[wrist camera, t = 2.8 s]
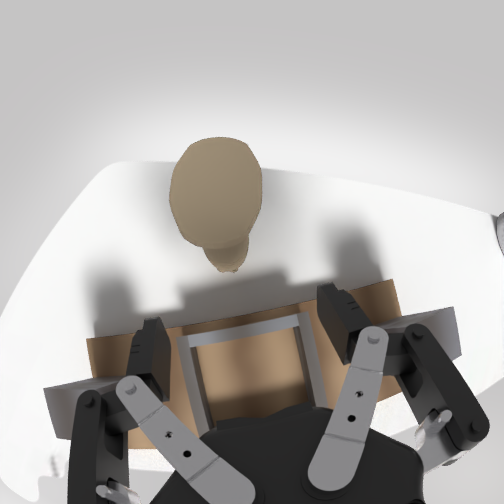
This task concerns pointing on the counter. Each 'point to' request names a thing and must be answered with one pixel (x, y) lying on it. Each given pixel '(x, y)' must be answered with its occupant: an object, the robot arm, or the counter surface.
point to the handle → (217, 198)
